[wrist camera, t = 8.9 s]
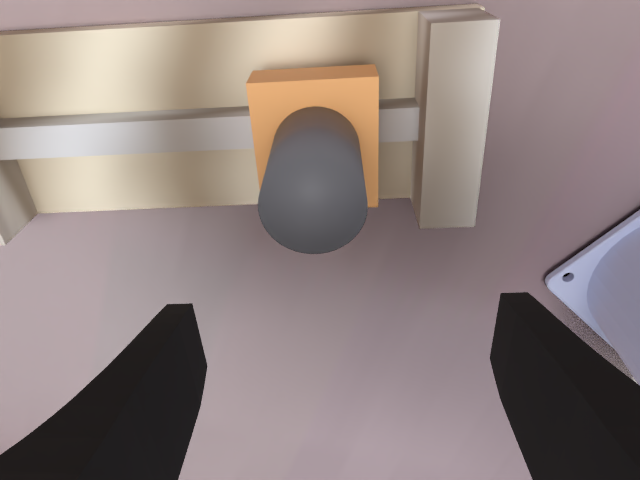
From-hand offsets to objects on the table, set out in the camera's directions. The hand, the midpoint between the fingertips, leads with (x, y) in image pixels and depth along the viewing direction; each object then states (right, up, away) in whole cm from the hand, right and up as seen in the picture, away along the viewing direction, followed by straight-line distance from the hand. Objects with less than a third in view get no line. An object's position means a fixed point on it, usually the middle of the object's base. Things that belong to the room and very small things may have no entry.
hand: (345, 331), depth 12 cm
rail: (-5, +7, +8) cm, 12 cm away
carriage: (-1, +7, +7) cm, 9 cm away
